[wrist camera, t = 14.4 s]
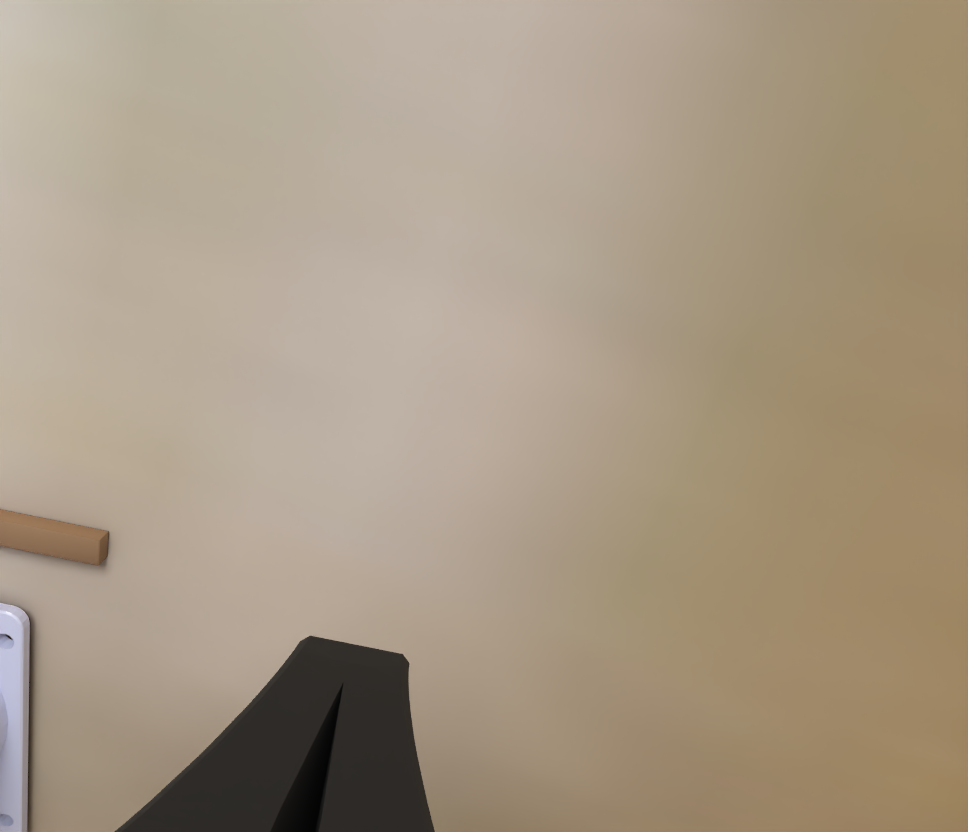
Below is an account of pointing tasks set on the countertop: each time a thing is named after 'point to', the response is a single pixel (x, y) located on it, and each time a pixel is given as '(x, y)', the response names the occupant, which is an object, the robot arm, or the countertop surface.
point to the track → (53, 538)
